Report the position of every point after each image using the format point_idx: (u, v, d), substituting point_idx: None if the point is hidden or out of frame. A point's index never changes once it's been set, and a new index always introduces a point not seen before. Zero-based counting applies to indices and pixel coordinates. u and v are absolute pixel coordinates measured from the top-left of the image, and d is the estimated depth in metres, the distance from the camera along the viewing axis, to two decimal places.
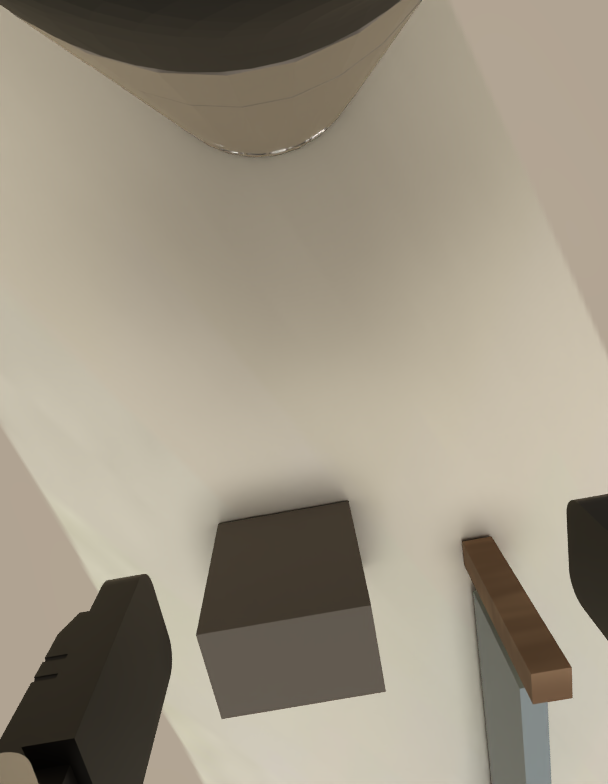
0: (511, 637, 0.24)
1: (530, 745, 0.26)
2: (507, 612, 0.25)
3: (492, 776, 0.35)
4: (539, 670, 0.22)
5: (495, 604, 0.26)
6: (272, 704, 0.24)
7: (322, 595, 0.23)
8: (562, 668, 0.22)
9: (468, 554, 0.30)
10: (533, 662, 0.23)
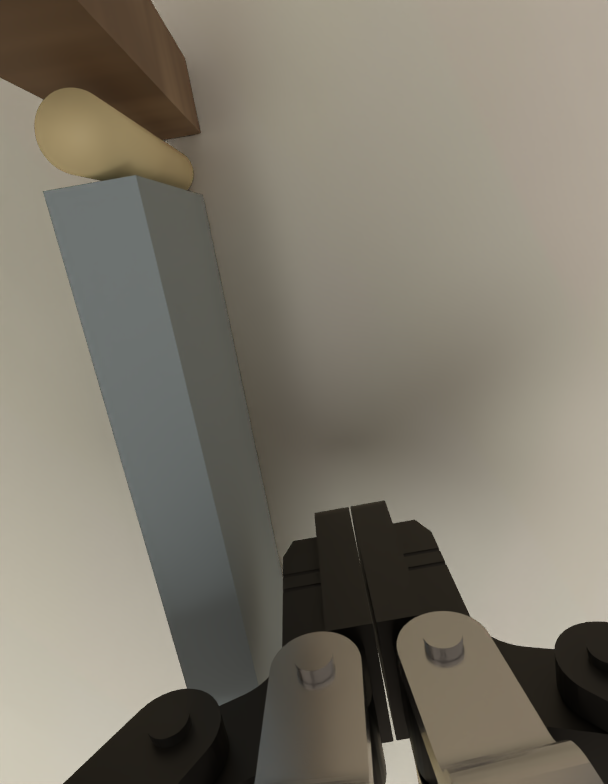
0: None
1: (138, 442, 0.08)
2: None
3: None
4: None
5: None
6: None
7: None
8: None
9: None
10: None
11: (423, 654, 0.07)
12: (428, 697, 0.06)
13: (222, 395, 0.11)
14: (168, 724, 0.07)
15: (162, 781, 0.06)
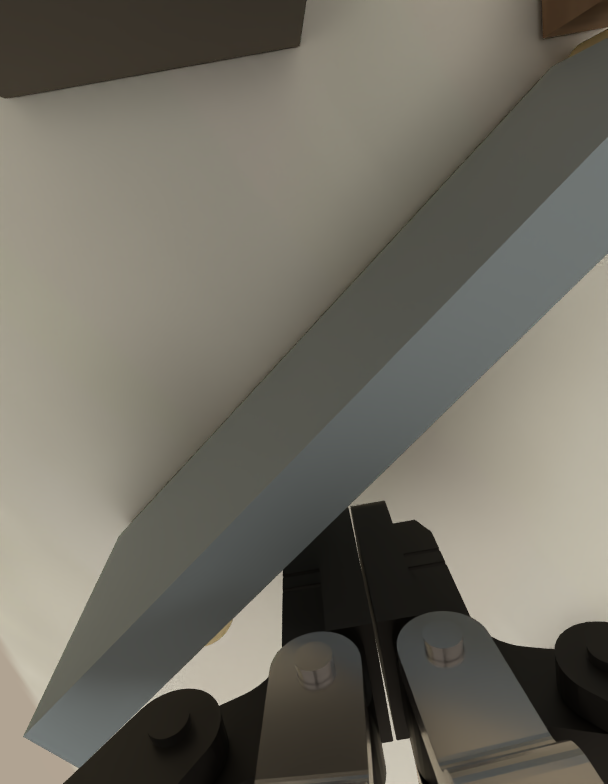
0: None
1: (591, 184, 0.08)
2: None
3: (168, 485, 0.15)
4: None
5: None
6: None
7: None
8: None
9: None
10: None
11: (423, 654, 0.07)
12: (429, 697, 0.06)
13: None
14: (169, 724, 0.07)
15: (161, 782, 0.06)
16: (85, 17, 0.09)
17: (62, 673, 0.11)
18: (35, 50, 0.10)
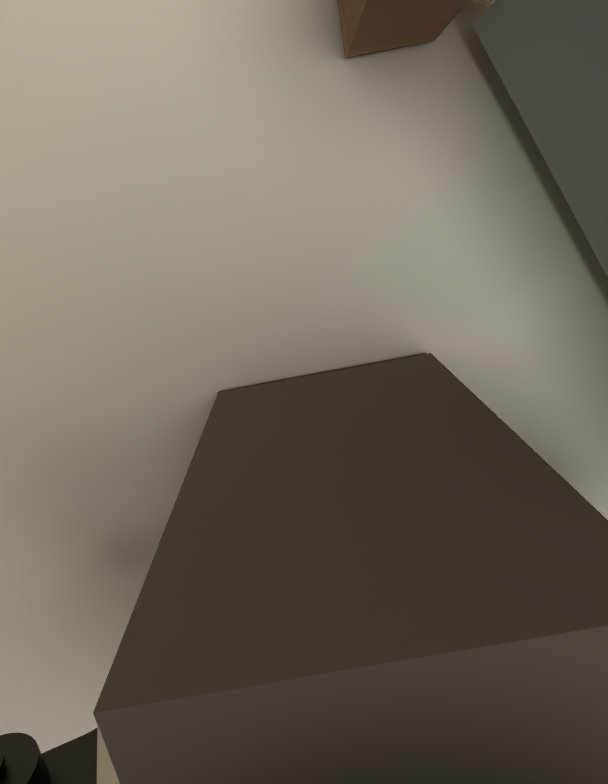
0: None
1: None
2: None
3: None
4: None
5: None
6: None
7: None
8: None
9: (357, 37, 0.09)
10: None
11: None
12: None
13: None
14: None
15: None
16: None
17: None
18: None
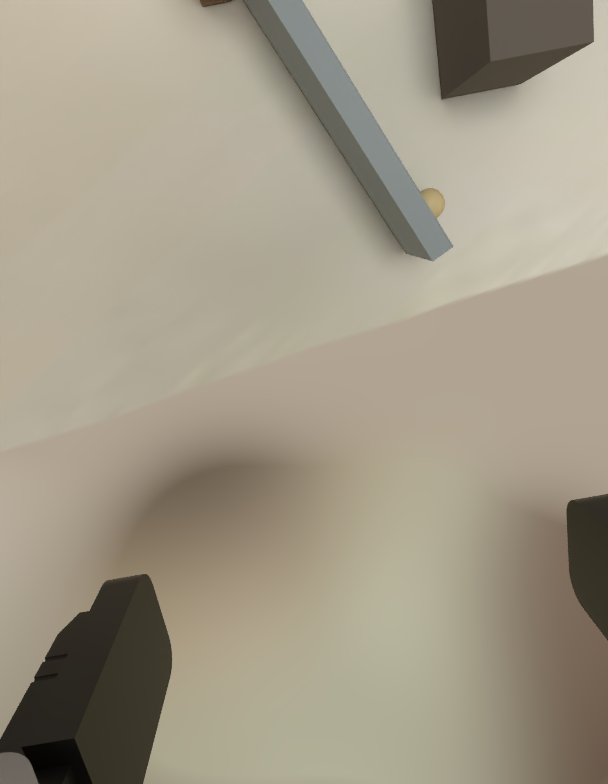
0: None
1: (284, 11, 0.24)
2: None
3: (385, 219, 0.33)
4: None
5: None
6: None
7: None
8: None
9: None
10: None
11: None
12: None
13: None
14: None
15: None
16: None
17: (421, 249, 0.29)
18: None
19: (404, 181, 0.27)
